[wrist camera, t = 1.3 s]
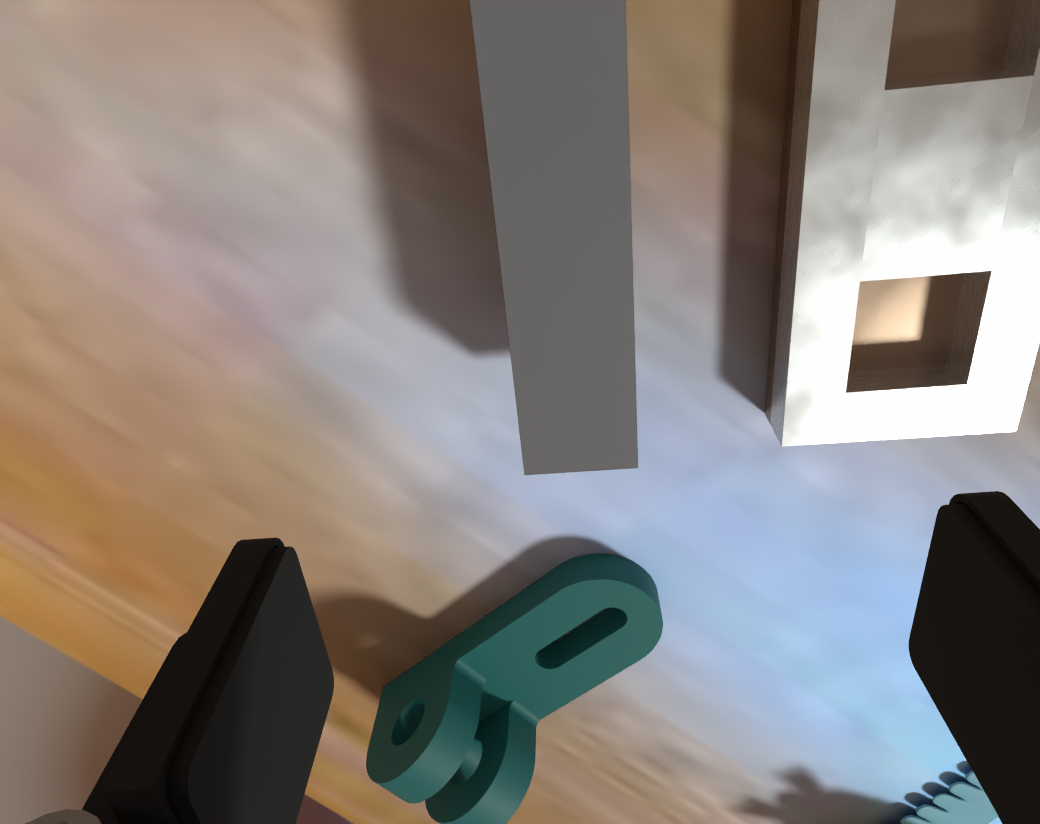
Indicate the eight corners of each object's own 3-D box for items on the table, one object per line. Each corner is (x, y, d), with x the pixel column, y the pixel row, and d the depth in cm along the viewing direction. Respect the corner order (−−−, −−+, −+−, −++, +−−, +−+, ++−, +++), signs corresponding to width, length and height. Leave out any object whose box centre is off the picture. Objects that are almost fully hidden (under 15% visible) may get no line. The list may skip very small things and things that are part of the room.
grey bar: (606, -57, 27) (623, -74, 21) (622, 386, 35) (637, 468, 29) (482, -43, 27) (463, -55, 21) (528, 393, 36) (524, 474, 30)
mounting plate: (1115, -190, 24) (1183, -212, 22) (981, 399, 35) (1016, 431, 32) (803, -150, 25) (833, -167, 23) (764, 413, 36) (782, 446, 33)
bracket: (461, 738, 49) (446, 859, 42) (383, 684, 46) (354, 803, 40) (681, 601, 42) (707, 718, 35) (604, 531, 40) (615, 642, 33)
